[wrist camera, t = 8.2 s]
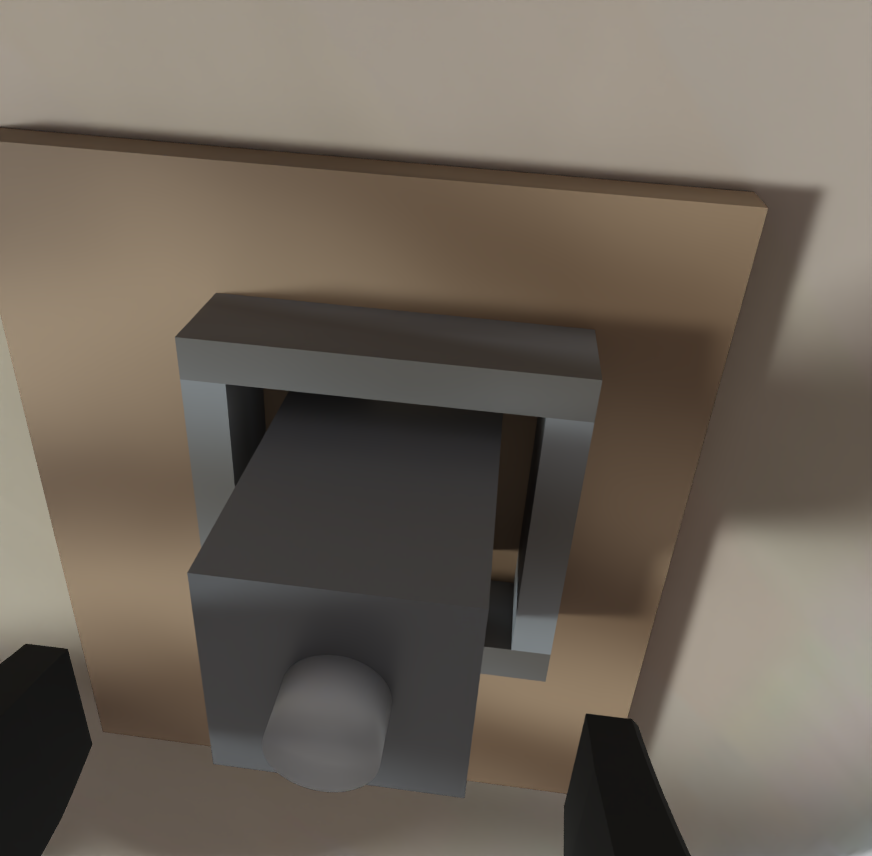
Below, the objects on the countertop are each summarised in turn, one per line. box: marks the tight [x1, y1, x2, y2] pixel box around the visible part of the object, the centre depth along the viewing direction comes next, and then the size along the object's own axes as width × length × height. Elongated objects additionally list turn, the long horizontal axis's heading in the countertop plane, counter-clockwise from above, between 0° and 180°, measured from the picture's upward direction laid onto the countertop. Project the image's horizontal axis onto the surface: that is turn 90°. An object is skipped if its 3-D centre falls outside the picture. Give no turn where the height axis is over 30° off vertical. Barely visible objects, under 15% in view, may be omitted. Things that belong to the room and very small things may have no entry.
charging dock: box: [0, 128, 768, 794], centre depth 17 cm, size 16×14×3 cm
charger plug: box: [187, 391, 503, 798], centre depth 14 cm, size 4×4×7 cm
